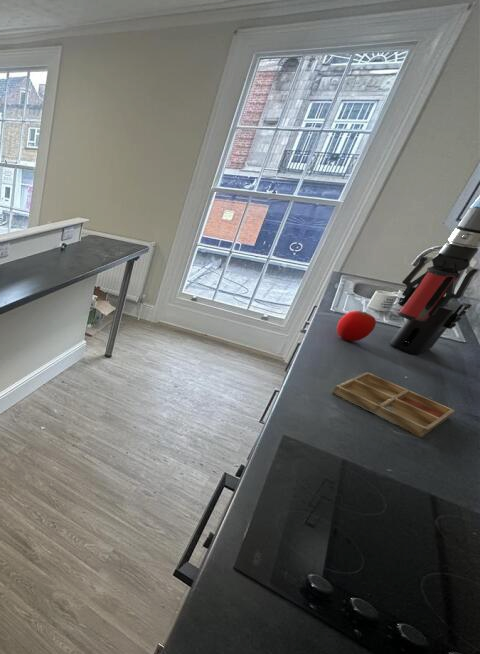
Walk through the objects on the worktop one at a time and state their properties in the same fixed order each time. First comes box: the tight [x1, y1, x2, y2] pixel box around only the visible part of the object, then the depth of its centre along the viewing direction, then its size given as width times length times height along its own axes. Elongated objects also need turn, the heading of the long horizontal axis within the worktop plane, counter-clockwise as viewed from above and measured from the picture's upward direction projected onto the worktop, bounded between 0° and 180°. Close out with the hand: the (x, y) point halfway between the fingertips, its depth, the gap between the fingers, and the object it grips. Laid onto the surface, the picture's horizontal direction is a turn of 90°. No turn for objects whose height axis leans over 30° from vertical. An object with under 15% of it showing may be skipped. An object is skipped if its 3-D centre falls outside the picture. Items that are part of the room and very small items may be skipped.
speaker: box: [396, 265, 461, 322], centre depth 136 cm, size 8×8×18 cm
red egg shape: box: [336, 310, 377, 342], centre depth 165 cm, size 11×11×13 cm
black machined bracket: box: [389, 302, 473, 356], centre depth 161 cm, size 12×21×22 cm, turn 119°
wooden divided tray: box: [331, 371, 456, 439], centre depth 126 cm, size 22×22×3 cm
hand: (416, 309), depth 139 cm, fingers closed on speaker, 7 cm apart
